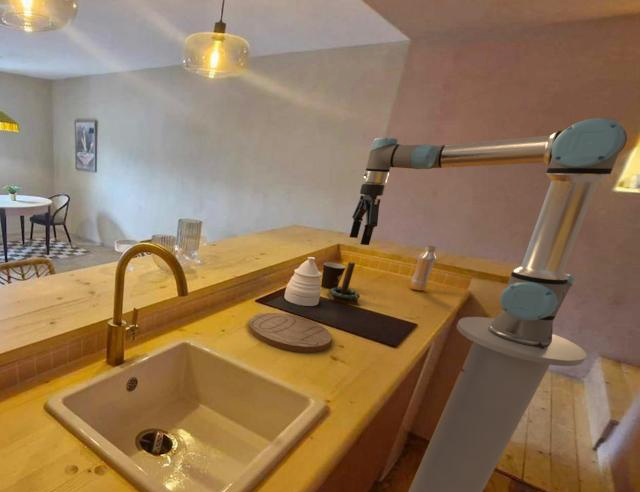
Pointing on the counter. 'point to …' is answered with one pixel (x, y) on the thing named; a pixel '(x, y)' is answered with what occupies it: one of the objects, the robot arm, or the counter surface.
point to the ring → (352, 296)
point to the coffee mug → (332, 275)
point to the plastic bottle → (423, 269)
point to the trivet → (289, 332)
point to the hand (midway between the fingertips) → (358, 241)
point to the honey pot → (304, 285)
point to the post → (345, 285)
